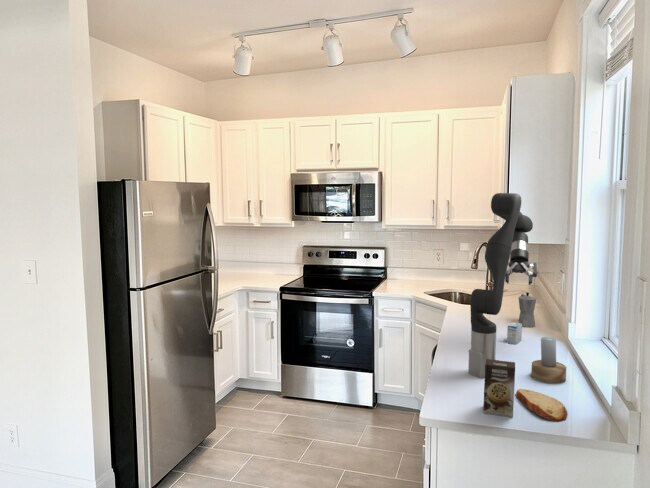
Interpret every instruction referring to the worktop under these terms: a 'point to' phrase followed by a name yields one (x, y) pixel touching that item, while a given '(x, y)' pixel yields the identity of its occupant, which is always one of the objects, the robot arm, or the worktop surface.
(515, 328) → the medicine box
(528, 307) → the coffeepot
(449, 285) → the worktop surface
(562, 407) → the bread slice
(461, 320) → the worktop surface
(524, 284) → the worktop surface
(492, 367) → the coffee box
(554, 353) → the dome-topped grey cylinder
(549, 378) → the walnut round
